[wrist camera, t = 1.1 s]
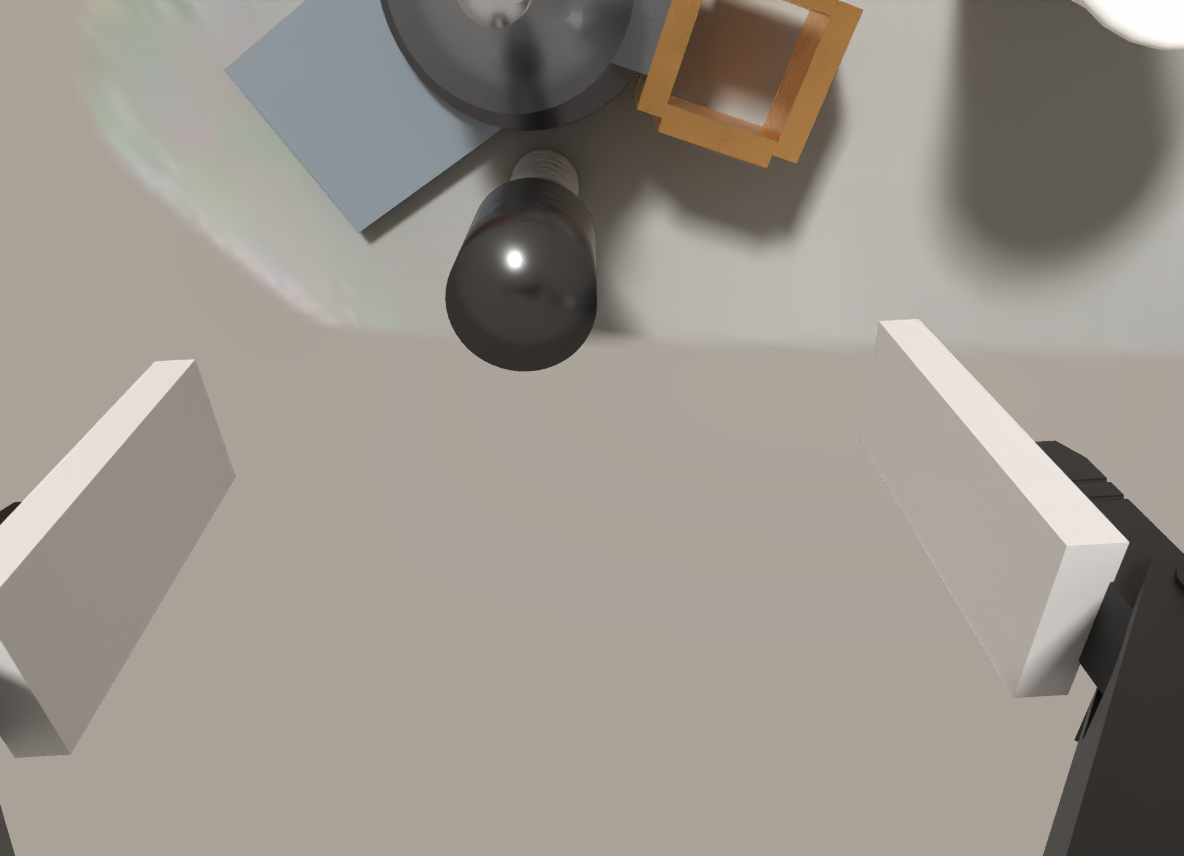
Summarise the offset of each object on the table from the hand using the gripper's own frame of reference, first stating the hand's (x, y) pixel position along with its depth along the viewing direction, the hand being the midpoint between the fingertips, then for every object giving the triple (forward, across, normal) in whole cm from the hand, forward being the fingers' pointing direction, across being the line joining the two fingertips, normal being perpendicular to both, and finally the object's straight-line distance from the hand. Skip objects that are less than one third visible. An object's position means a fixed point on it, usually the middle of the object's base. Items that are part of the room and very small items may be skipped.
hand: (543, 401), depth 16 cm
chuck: (+20, -3, -5) cm, 21 cm away
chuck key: (+22, 0, +2) cm, 22 cm away
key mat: (+22, +7, -2) cm, 24 cm away
